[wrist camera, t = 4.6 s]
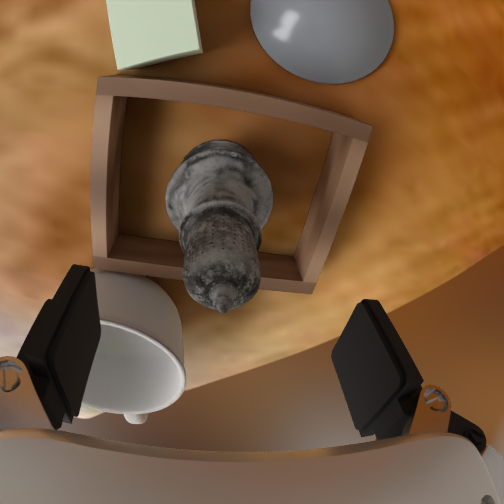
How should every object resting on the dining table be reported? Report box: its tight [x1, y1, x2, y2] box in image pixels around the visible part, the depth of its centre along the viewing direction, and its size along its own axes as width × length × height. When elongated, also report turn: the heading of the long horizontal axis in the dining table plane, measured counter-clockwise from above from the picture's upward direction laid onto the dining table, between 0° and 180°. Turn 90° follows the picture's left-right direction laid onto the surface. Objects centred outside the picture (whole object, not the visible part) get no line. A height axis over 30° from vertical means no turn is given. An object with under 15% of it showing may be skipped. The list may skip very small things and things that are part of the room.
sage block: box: [106, 0, 203, 70], centre depth 13 cm, size 4×4×4 cm
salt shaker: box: [165, 140, 273, 313], centre depth 15 cm, size 6×6×12 cm
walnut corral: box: [90, 75, 373, 294], centre depth 19 cm, size 12×15×3 cm
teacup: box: [81, 268, 186, 424], centre depth 22 cm, size 14×11×8 cm
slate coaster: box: [250, 0, 394, 84], centre depth 14 cm, size 9×9×1 cm
